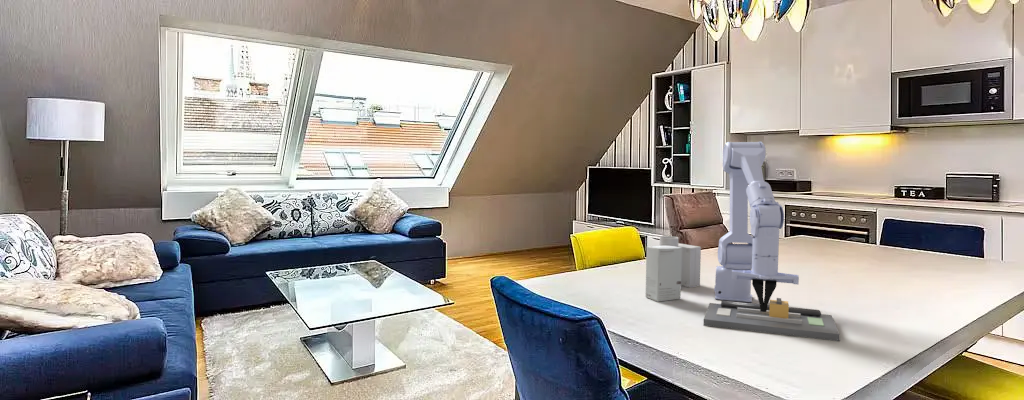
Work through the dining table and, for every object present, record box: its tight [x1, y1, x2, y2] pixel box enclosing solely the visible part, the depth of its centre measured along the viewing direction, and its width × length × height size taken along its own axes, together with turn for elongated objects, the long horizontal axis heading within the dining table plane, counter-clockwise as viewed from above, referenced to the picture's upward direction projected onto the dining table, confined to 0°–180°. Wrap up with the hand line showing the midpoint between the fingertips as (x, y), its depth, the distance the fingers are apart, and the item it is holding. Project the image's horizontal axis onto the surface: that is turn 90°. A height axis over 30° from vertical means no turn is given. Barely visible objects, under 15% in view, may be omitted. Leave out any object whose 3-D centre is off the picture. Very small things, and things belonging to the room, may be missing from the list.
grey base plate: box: [703, 300, 841, 342], centre depth 134 cm, size 28×16×3 cm, turn 66°
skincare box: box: [644, 245, 682, 302], centre depth 157 cm, size 8×6×15 cm
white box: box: [659, 235, 702, 288], centre depth 174 cm, size 12×14×15 cm
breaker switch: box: [769, 297, 790, 318], centre depth 132 cm, size 4×4×4 cm
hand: (763, 310), depth 134 cm, fingers closed
